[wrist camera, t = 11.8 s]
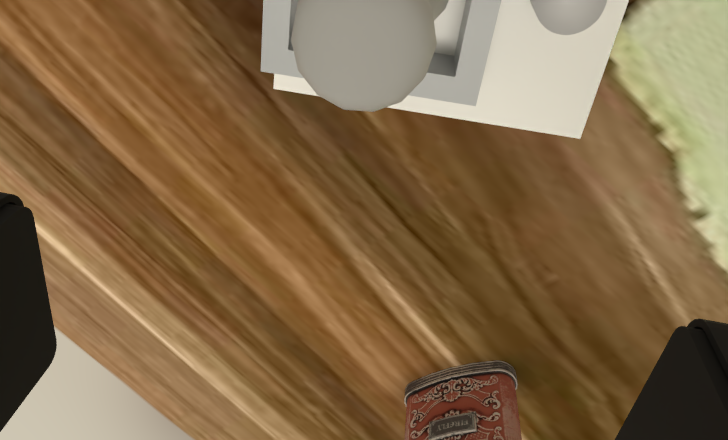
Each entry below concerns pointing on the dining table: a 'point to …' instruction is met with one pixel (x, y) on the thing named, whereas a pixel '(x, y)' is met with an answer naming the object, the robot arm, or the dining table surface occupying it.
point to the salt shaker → (365, 48)
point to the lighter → (464, 404)
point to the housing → (491, 61)
